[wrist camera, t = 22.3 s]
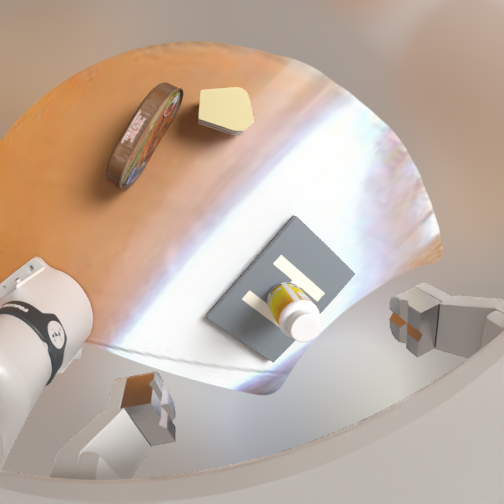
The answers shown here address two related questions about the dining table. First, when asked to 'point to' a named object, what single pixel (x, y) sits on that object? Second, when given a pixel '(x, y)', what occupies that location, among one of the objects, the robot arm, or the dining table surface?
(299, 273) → the gray board
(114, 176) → the tin
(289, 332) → the supplement bottle
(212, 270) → the dining table surface
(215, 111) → the pale yellow block
